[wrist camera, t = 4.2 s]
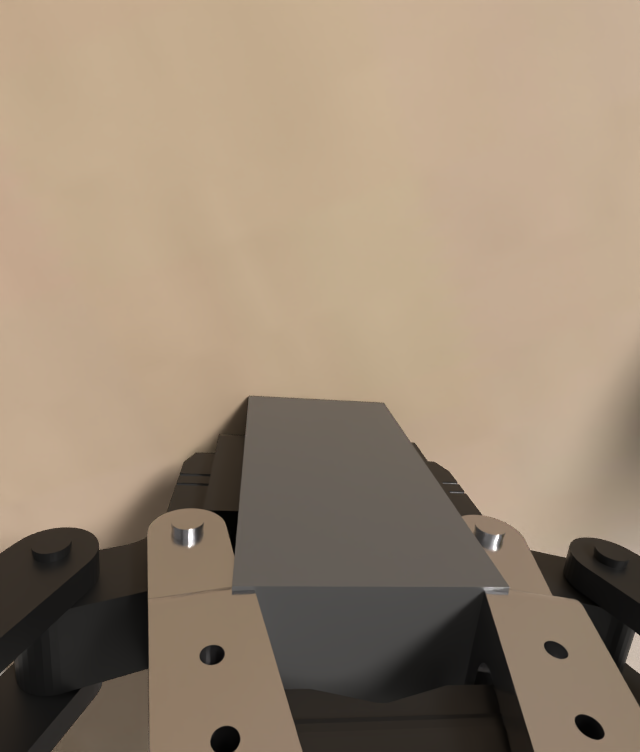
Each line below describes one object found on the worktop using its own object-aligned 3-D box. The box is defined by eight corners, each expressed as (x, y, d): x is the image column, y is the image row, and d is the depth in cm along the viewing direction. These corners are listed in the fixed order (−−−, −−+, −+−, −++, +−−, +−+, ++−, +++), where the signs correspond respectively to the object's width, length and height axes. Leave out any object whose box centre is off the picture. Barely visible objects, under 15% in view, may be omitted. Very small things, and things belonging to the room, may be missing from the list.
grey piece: (189, 741, 16) (133, 1126, 9) (198, 393, 12) (122, 585, 6) (376, 734, 16) (454, 1084, 10) (429, 405, 13) (599, 586, 7)
